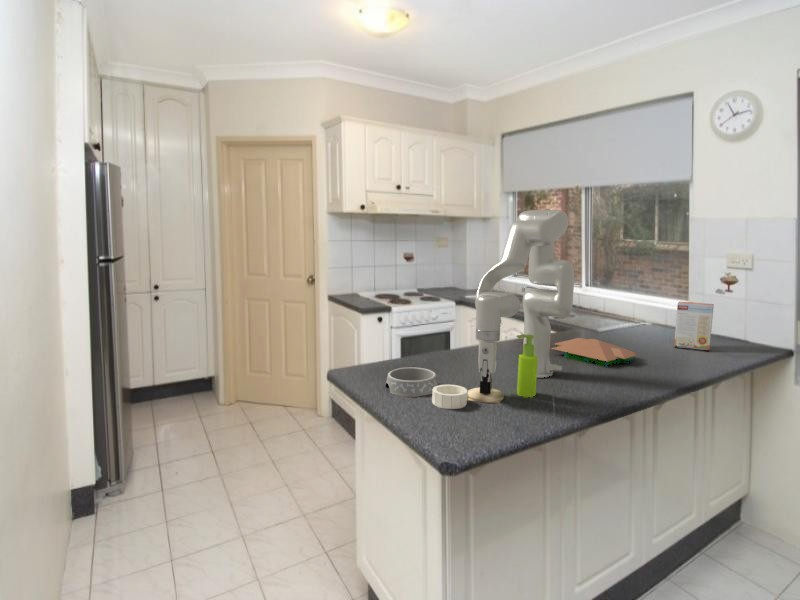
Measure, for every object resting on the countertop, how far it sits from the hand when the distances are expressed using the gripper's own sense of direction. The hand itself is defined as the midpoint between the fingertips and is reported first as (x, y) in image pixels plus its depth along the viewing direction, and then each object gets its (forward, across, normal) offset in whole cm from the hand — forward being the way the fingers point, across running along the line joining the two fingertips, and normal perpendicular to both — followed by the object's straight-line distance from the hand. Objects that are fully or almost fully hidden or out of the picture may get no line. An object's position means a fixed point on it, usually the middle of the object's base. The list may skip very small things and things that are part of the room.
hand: (485, 391), depth 163 cm
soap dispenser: (+2, +6, -12) cm, 14 cm away
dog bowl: (+3, +3, +25) cm, 25 cm away
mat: (+2, 0, 0) cm, 2 cm away
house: (+3, +66, -38) cm, 76 cm away
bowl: (+2, -9, +10) cm, 14 cm away
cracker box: (+2, +95, -83) cm, 126 cm away
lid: (+2, 0, 0) cm, 2 cm away
